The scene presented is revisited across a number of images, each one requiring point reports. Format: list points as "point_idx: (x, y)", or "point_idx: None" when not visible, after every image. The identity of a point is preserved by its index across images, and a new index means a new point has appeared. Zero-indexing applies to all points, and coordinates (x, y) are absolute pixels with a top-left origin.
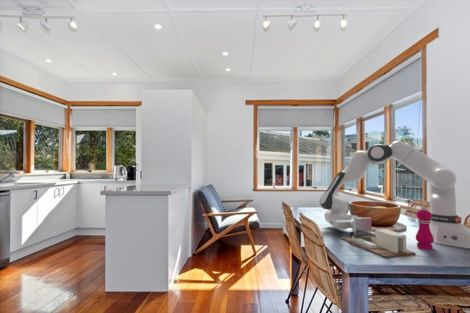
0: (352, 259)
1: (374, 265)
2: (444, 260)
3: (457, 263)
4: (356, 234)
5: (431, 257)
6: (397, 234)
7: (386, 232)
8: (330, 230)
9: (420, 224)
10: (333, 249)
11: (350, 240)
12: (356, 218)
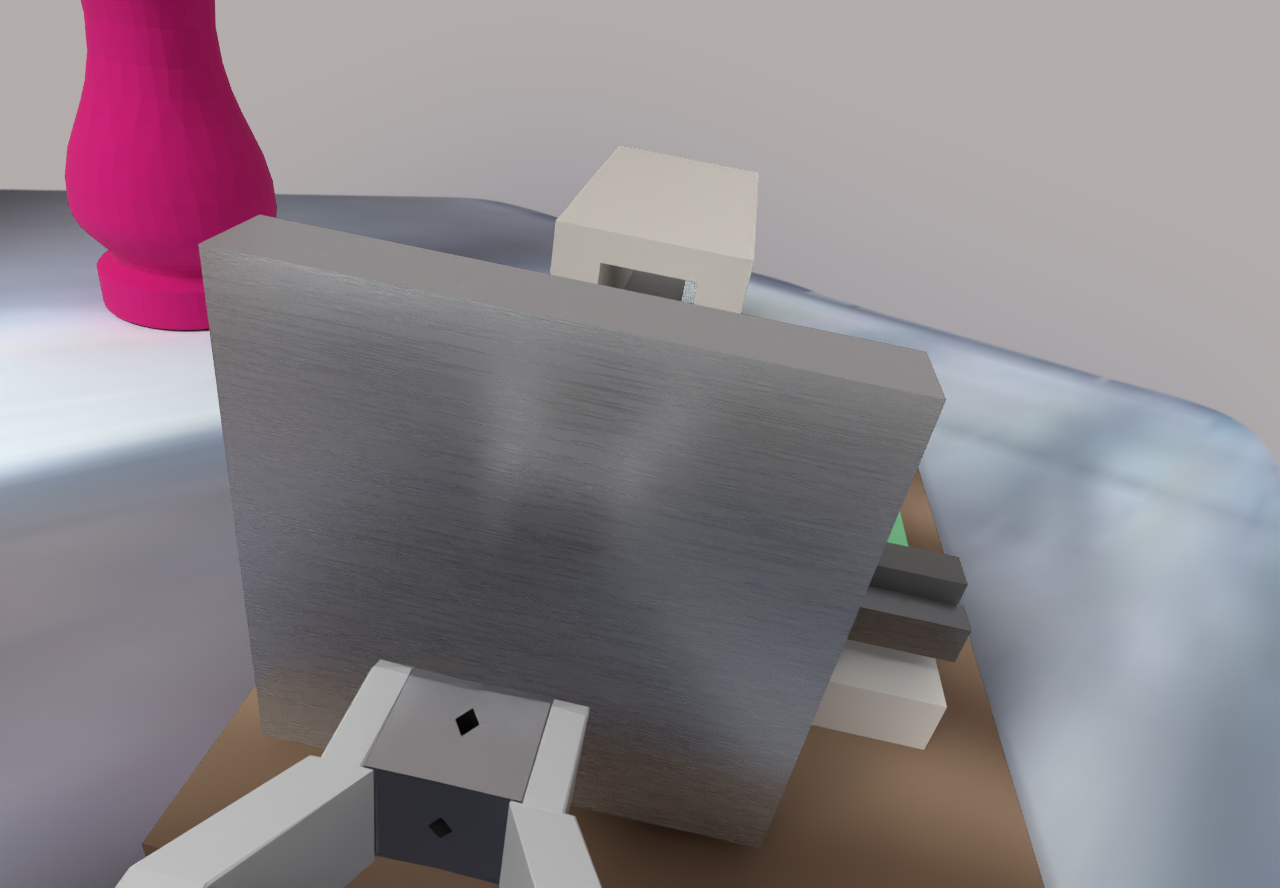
0: (1181, 447)
1: (1043, 360)
2: (477, 232)
3: (468, 209)
4: (924, 554)
5: (487, 261)
6: (678, 168)
7: (725, 204)
8: None
9: (199, 10)
10: None
11: (964, 750)
12: (846, 355)
